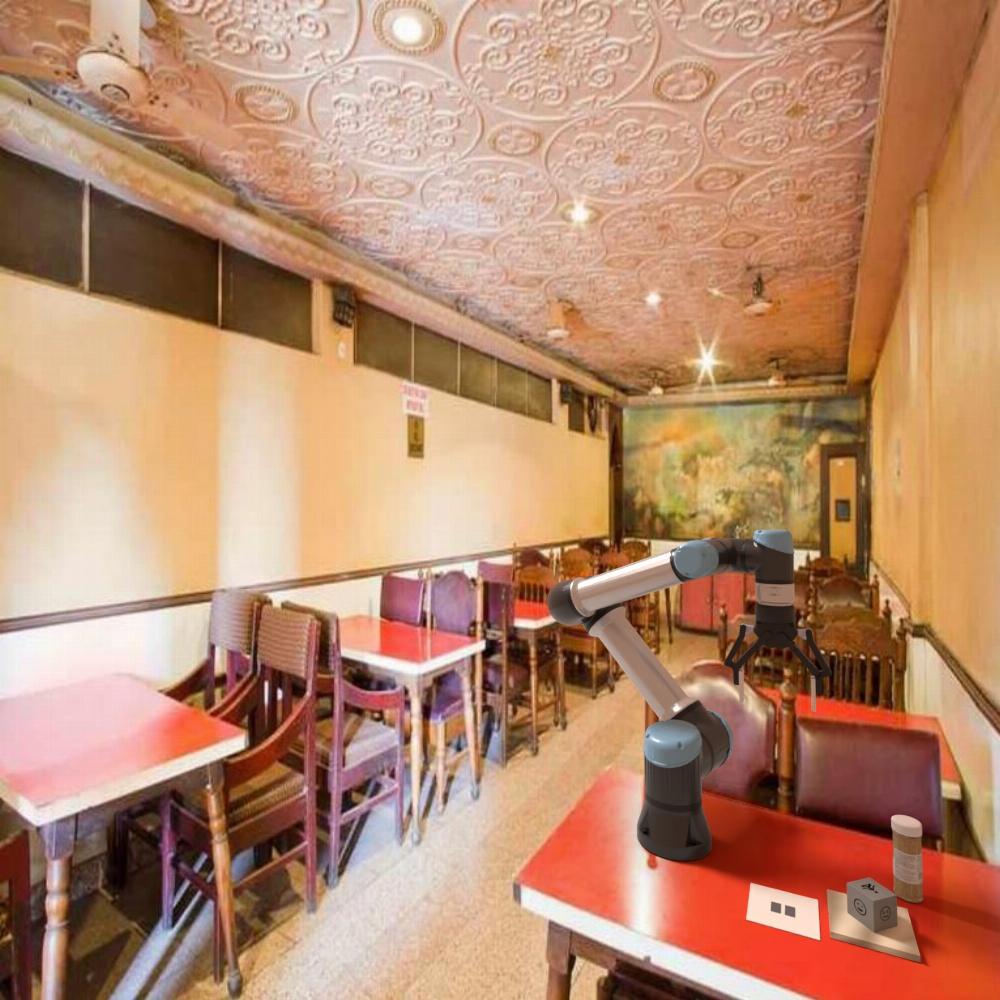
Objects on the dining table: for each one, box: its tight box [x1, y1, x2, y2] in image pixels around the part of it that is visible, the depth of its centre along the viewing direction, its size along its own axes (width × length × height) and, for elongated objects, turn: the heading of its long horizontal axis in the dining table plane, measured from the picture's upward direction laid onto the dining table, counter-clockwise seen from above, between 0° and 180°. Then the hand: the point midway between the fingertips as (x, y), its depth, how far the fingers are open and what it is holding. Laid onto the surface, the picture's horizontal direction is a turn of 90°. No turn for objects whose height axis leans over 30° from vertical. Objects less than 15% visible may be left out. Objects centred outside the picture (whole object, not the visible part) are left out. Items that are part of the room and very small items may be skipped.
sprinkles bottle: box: [890, 814, 925, 904], centre depth 105 cm, size 5×5×13 cm
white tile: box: [745, 882, 821, 941], centre depth 102 cm, size 11×11×1 cm
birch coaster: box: [826, 888, 922, 963], centre depth 97 cm, size 12×12×1 cm
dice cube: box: [846, 876, 898, 933], centre depth 98 cm, size 5×5×5 cm
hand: (776, 705), depth 122 cm, fingers open, 13 cm apart
